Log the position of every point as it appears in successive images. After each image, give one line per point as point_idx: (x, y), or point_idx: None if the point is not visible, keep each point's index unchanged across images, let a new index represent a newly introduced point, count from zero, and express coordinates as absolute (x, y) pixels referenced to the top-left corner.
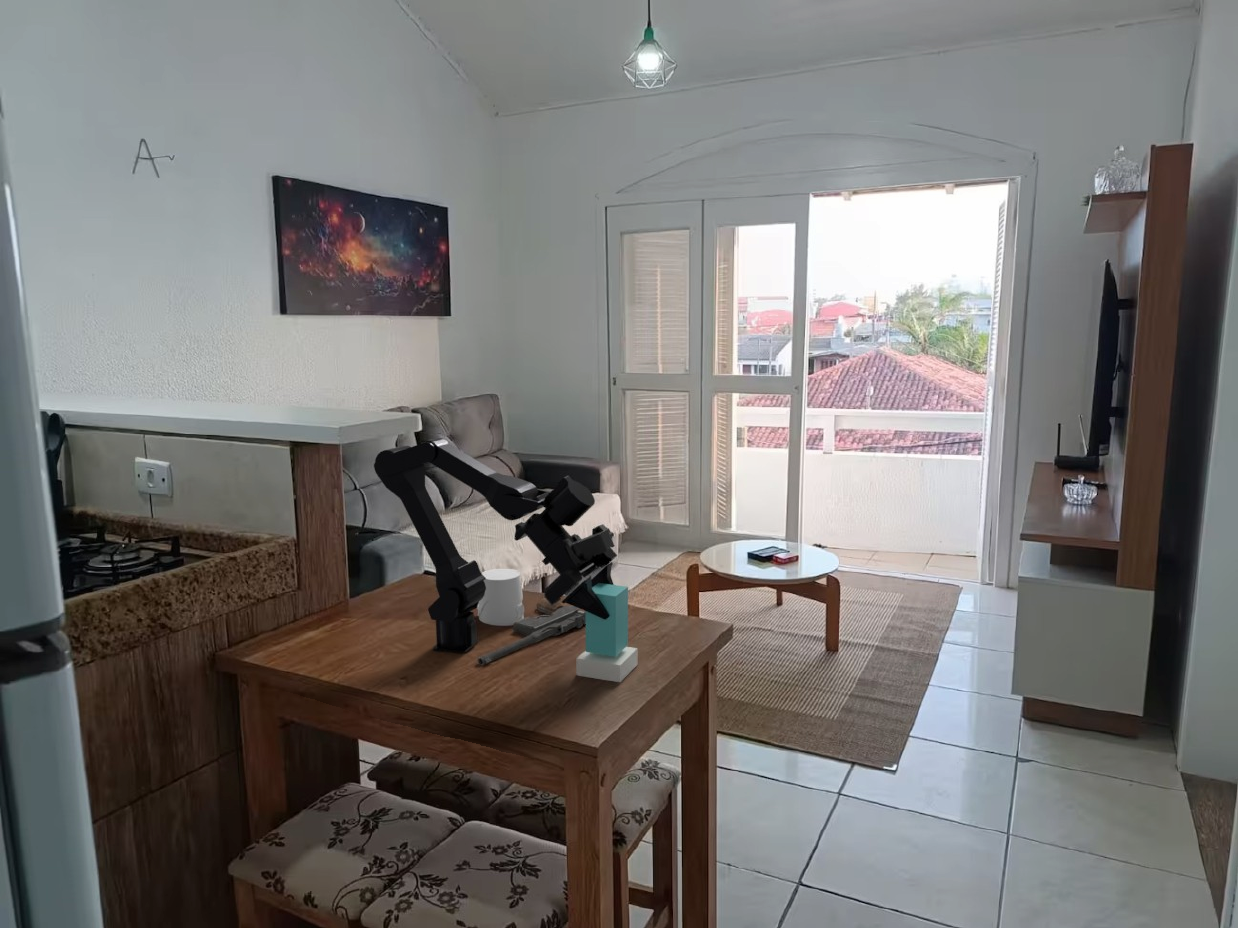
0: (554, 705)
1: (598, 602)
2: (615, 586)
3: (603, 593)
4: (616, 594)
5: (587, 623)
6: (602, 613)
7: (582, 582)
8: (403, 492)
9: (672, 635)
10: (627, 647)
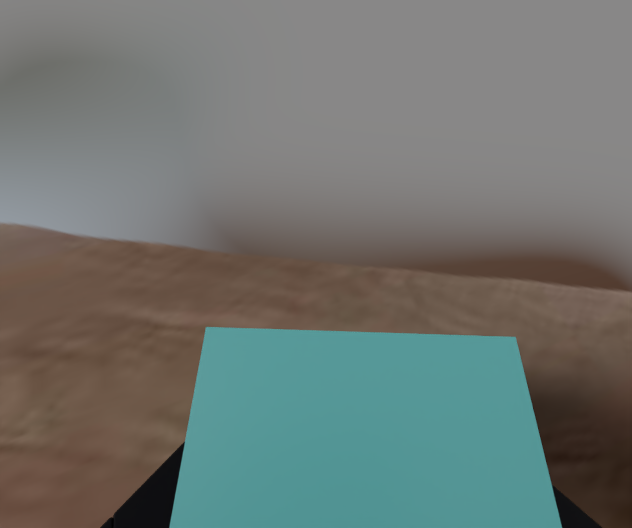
0: (614, 488)
1: (572, 506)
2: (226, 463)
3: (515, 508)
4: (464, 350)
5: None
6: None
7: None
8: None
9: (27, 329)
10: None
